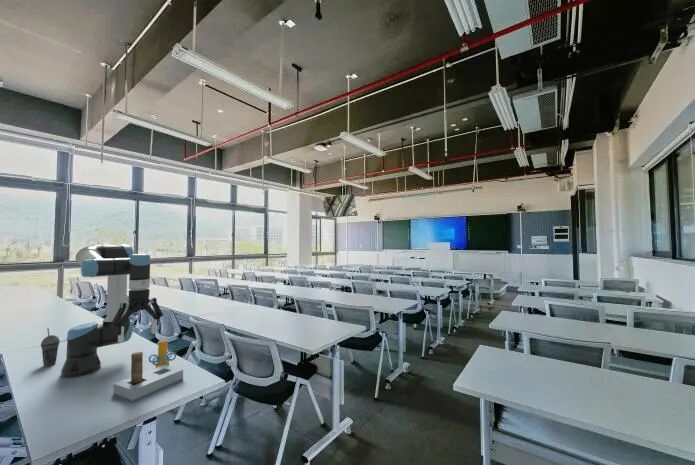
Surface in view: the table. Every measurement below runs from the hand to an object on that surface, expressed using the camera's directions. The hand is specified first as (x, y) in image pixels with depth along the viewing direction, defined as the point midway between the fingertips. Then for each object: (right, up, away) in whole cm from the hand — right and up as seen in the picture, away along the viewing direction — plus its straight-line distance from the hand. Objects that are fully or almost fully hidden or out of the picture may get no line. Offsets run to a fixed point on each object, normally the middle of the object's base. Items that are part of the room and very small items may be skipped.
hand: (138, 337), depth 129 cm
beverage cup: (-69, -26, +30) cm, 80 cm away
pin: (0, -23, -1) cm, 23 cm away
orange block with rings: (-3, -25, +22) cm, 33 cm away
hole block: (+3, -24, +4) cm, 24 cm away
